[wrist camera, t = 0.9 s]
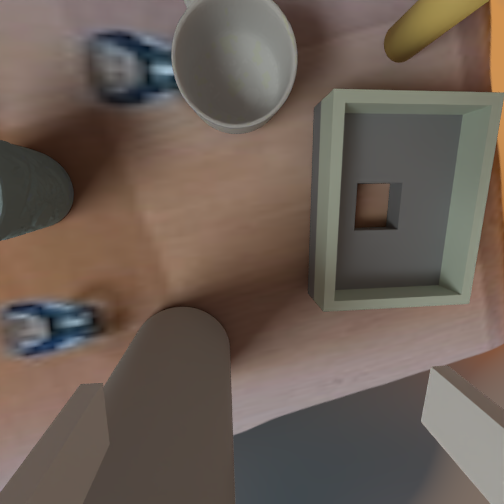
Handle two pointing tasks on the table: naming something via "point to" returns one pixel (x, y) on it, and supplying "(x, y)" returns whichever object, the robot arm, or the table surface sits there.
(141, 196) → the table surface
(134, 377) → the cylinder vase
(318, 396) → the table surface
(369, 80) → the table surface
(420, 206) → the box
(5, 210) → the grey-green cup
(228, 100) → the teacup
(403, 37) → the peg
